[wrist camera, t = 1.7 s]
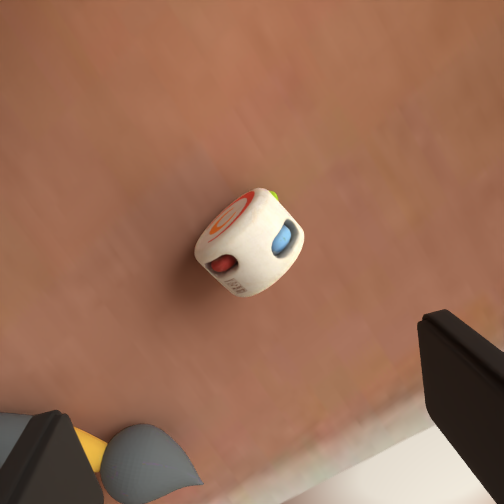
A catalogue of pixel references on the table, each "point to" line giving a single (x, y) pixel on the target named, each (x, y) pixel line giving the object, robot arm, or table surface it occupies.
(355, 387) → the table surface
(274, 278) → the roller toy
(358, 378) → the table surface
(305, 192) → the table surface
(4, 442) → the paintbrush
